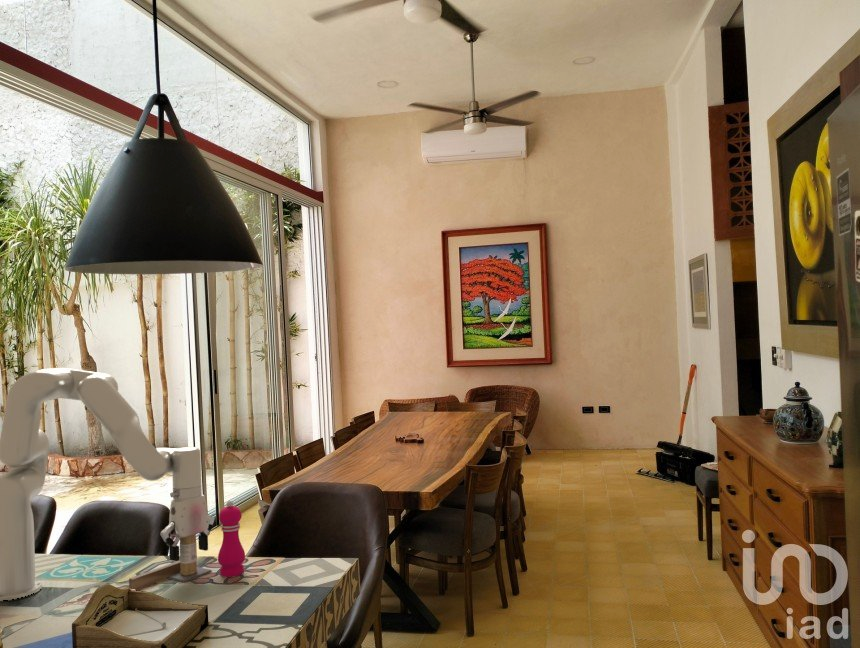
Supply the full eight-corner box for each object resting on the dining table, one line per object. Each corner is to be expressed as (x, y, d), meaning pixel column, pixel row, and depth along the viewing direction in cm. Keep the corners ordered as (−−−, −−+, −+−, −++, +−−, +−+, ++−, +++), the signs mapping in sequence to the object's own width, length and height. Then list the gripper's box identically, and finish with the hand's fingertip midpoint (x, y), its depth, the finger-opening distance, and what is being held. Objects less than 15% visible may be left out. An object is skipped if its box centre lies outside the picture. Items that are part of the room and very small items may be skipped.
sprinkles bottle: (190, 569, 192) (189, 521, 192) (200, 572, 190) (199, 523, 190) (176, 574, 188) (175, 525, 189) (186, 577, 186) (185, 527, 186)
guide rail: (129, 590, 179) (128, 578, 179) (183, 569, 194) (182, 559, 194) (133, 591, 178) (132, 579, 178) (186, 570, 193) (186, 560, 193)
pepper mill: (229, 579, 184) (226, 505, 184) (212, 575, 188) (210, 502, 189) (251, 572, 190) (248, 499, 190) (234, 567, 194) (232, 496, 194)
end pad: (167, 578, 187) (167, 576, 187) (194, 568, 195) (194, 566, 195) (184, 582, 183) (184, 580, 183) (211, 571, 191) (211, 569, 191)
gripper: (169, 500, 180) (171, 566, 180) (221, 487, 195) (223, 547, 195) (151, 498, 184) (153, 562, 184) (203, 485, 199) (205, 544, 199)
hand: (189, 554), depth 189 cm, fingers open, 9 cm apart
